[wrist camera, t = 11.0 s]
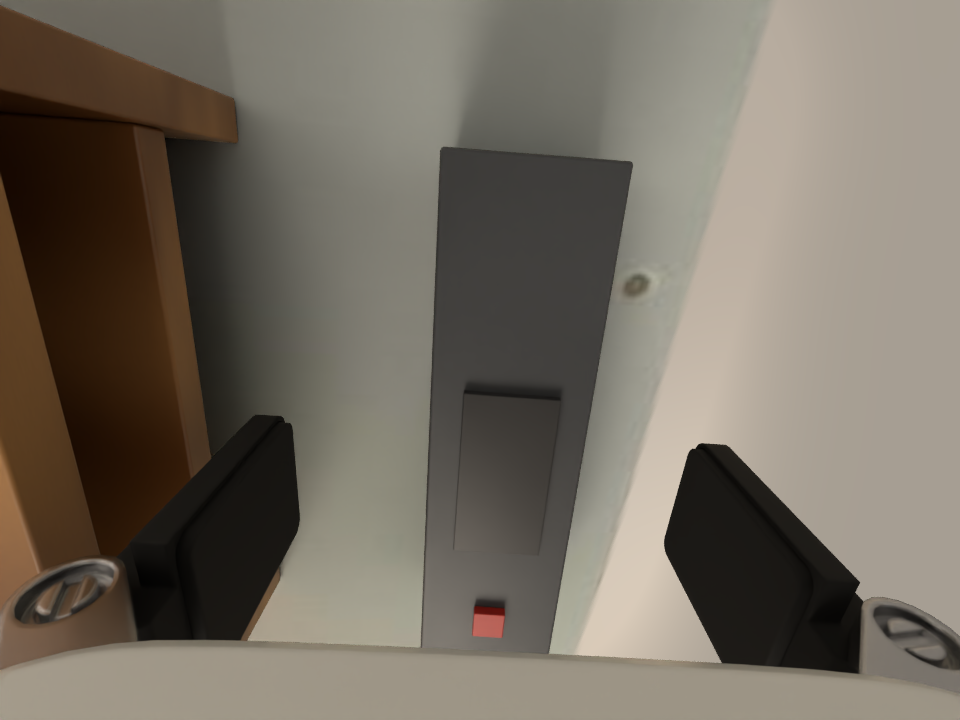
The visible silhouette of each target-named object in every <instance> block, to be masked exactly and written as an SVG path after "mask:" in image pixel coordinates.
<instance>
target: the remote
mask: <svg viewBox="0 0 960 720" xmlns="http://www.w3.org/2000/svg"><path fill="white" fill-rule="evenodd" d="M632 168H633V164H632V162H630V161H618V160H605V159H593V158H580V157H567V156H554V155H542V154H529V153H516V152H504V151H491V150H478V149H466V148H453V147H442V148H441V150H440V172H439V197H438V222H437V248H436V273H435V298H434V323H433V349H432V374H431V399H430V424H429V450H428V475H427V500H426V526H425V551H424V576H423V601H422V627H421V648H438V649H459V650H480V651H500V652H521V653H541V654H549V650H550V644H551V638H552V632H553V626H554V621H555V615H556V609H557V603H558V597H559V592H560V586H561V580H562V574H563V568H564V562H565V557H566V551H567V545H568V539H569V533H570V528H571V522H572V516H573V510H574V504H575V499H576V493H577V487H578V481H579V475H580V470H581V464H582V458H583V452H584V446H585V441H586V435H587V429H588V423H589V417H590V412H591V406H592V400H593V394H594V388H595V382H596V377H597V371H598V365H599V359H600V353H601V348H602V342H603V336H604V330H605V324H606V319H607V313H608V307H609V301H610V295H611V290H612V284H613V278H614V272H615V266H616V261H617V255H618V249H619V243H620V237H621V232H622V226H623V220H624V214H625V208H626V203H627V197H628V191H629V185H630V179H631V173H632Z"/></svg>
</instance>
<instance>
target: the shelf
mask: <svg viewBox="0 0 960 720" xmlns="http://www.w3.org/2000/svg"><path fill="white" fill-rule="evenodd" d="M165 138H178V139H190V140H202V141H214V142H227V143H237V142H238V134H237V124H236V113H235V103H234V99H233V98H231V97H229V96H226V95H224V94H221V93H219V92H216V91H214V90H211V89H209V88H206V87H204V86H201V85H199V84H196V83H194V82H191V81H189V80H186V79H184V78H181V77H179V76H176V75H174V74H171V73H169V72H166V71H164V70H161V69H159V68H156V67H154V66H151V65H149V64H146V63H144V62H141V61H139V60H136V59H134V58H131V57H129V56H126V55H124V54H121V53H119V52H116V51H114V50H111V49H109V48H106V47H104V46H101V45H99V44H96V43H94V42H91V41H89V40H86V39H84V38H81V37H79V36H76V35H74V34H71V33H69V32H66V31H64V30H61V29H59V28H56V27H54V26H51V25H49V24H46V23H44V22H41V21H39V20H36V19H34V18H31V17H29V16H26V15H24V14H21V13H19V12H16V11H14V10H11V9H9V8H6V7H4V6H1V5H0V611H1V609H2V606H3V604H4V603H5V601H6V600H7V599H8V598H9V597H10V595H11V594H12V593H13V592H14V591H15V590H16V589H17V588H19V587H20V586H21V585H22V584H24V583H25V582H26V581H28V580H29V579H30V578H32V577H34V576H35V575H37V574H39V573H41V572H42V571H44V570H46V569H48V568H50V567H52V566H55V565H57V564H60V563H62V562H64V561H67V560H71V559H75V558H78V557H82V556H88V555H98V554H102V555H110V556H114V557H117V556H118V555H119V554H120V553H121V552H122V551H123V550H124V549H125V548H126V547H127V546H128V545H129V544H130V541H131V540H132V539H133V538H134V537H135V536H136V535H137V534H138V533H139V532H140V531H141V530H142V528H143V527H144V526H145V525H146V524H147V523H148V522H149V521H150V520H151V519H152V518H153V517H154V516H155V515H156V514H157V513H158V512H159V511H160V510H161V509H162V508H163V507H164V506H165V505H166V504H167V503H168V502H169V501H170V500H171V499H172V498H173V497H174V496H175V495H176V494H177V493H178V492H179V491H180V490H181V489H182V488H183V487H184V486H185V485H186V484H187V483H188V482H189V481H190V480H191V479H192V478H193V477H194V476H195V475H196V474H197V473H198V472H199V471H200V470H201V469H202V468H203V467H204V466H205V465H206V464H207V463H208V462H209V461H210V459H211V454H210V447H209V440H208V433H207V426H206V419H205V413H204V406H203V399H202V392H201V385H200V378H199V371H198V364H197V357H196V351H195V344H194V337H193V330H192V323H191V316H190V309H189V302H188V295H187V289H186V282H185V275H184V268H183V261H182V254H181V247H180V240H179V233H178V227H177V220H176V213H175V206H174V199H173V192H172V185H171V178H170V171H169V165H168V158H167V151H166V144H165ZM279 581H280V572H279V568H278V570H277V572H276V573H275V575H274V577H273V579H272V581H271V583H270V585H269V587H268V589H267V591H266V592H265V594H264V596H263V598H262V600H261V602H260V604H259V606H258V608H257V610H256V611H255V613H254V615H253V617H252V619H251V621H250V623H249V625H248V627H247V629H246V630H245V632H244V634H243V636H242V638H241V640H240V641H247V640H248V638H249V636H250V634H251V632H252V630H253V629H254V627H255V625H256V623H257V621H258V619H259V618H260V616H261V614H262V612H263V610H264V608H265V606H266V605H267V603H268V601H269V599H270V597H271V595H272V594H273V592H274V590H275V588H276V586H277V584H278V583H279Z"/></svg>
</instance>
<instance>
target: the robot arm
mask: <svg viewBox="0 0 960 720" xmlns="http://www.w3.org/2000/svg"><path fill="white" fill-rule="evenodd" d="M299 522H300V513H299V501H298V489H297V477H296V465H295V453H294V441H293V430H292V425H291V424H290V423H285V420H284V418H283V417H282V416H270V415H254V416H253V417H252V418H251V419H250V420H249V421H248V422H247V423H246V424H245V425H244V426H243V427H242V428H241V429H240V430H239V431H238V432H237V433H236V434H235V435H234V436H233V437H232V438H231V439H230V440H229V441H228V442H227V443H226V444H225V445H224V446H223V447H222V448H221V449H220V450H219V451H218V452H217V453H216V454H215V455H214V456H213V457H212V458H211V459H210V461H209V462H208V463H207V464H206V465H205V466H204V467H203V468H202V469H201V470H200V471H199V472H198V473H197V474H196V475H195V476H194V477H193V478H192V479H191V480H190V481H189V482H188V483H187V484H186V485H185V486H184V487H183V488H182V489H181V490H180V491H179V492H178V493H177V494H176V495H175V496H174V497H173V498H172V499H171V500H170V501H169V502H168V503H167V504H166V505H165V506H164V507H163V508H162V509H161V510H160V511H159V512H158V513H157V514H156V515H155V516H154V517H153V518H152V519H151V520H150V521H149V522H148V523H147V524H146V525H145V526H144V527H143V528H142V530H141V531H140V532H139V533H138V534H137V535H136V536H135V537H134V538H133V539H132V540H131V541H130V544H129V545H128V546H127V547H126V548H125V549H124V550H123V551H122V552H121V553H120V554H119V555H118V556H117V557H114V556H110V555H102V554H98V555H88V556H82V557H78V558H75V559H71V560H67V561H64V562H62V563H60V564H57V565H55V566H52V567H50V568H48V569H46V570H44V571H42V572H41V573H39V574H37V575H35V576H34V577H32V578H30V579H29V580H28V581H26V582H25V583H24V584H22V585H21V586H20V587H19V588H17V589H16V590H15V591H14V592H13V593H12V594H11V595H10V597H9V598H8V599H7V600H6V601H5V603H4V604H3V606H2V609H1V611H0V720H960V636H959V635H958V634H956V633H955V632H954V631H953V630H952V629H951V628H950V627H948V626H947V625H945V624H943V623H942V622H941V621H939V620H938V619H936V618H935V617H933V616H932V615H930V614H928V613H926V612H924V611H922V610H920V609H918V608H916V607H914V606H912V605H909V604H906V603H904V602H901V601H899V600H894V599H890V598H885V597H871V598H870V599H867V600H866V601H864V602H863V601H862V599H860V597H859V596H858V595H857V594H856V593H855V592H856V589H857V588H858V586H859V584H860V582H859V581H858V580H857V579H856V578H855V577H854V576H853V575H852V573H851V572H850V571H849V570H848V569H846V567H845V566H844V565H843V564H842V563H841V562H840V561H839V560H838V559H837V558H836V557H835V556H834V555H833V554H832V553H831V552H830V551H829V550H828V549H827V548H826V547H825V546H824V545H823V544H822V543H821V542H820V541H819V540H818V539H817V537H816V536H815V535H814V534H813V533H812V532H811V531H810V530H809V529H808V528H807V527H806V526H805V525H804V524H803V523H802V522H801V521H800V520H799V519H798V518H797V517H796V516H795V515H794V514H793V513H792V512H791V510H790V509H789V508H788V507H787V506H786V505H785V504H784V503H783V502H782V501H781V500H780V499H779V498H778V497H777V496H776V495H775V494H774V493H773V492H772V491H771V490H770V489H769V488H768V487H767V486H766V485H765V484H764V483H763V482H762V481H761V480H760V478H759V477H758V476H757V475H755V473H754V472H753V471H752V470H751V469H750V468H749V467H748V466H747V465H746V464H745V463H744V462H743V461H742V460H741V459H740V458H739V457H738V456H737V455H736V454H735V453H734V452H733V451H732V450H731V449H730V447H728V446H727V445H720V444H719V445H718V444H704V443H701V444H699V445H698V446H697V447H696V449H692V450H690V452H689V454H688V456H687V460H686V463H685V467H684V471H683V474H682V478H681V482H680V485H679V488H678V492H677V496H676V499H675V503H674V506H673V510H672V513H671V517H670V521H669V524H668V528H667V531H666V535H665V539H664V547H665V552H666V555H667V556H668V559H669V560H670V562H671V565H672V566H673V568H674V570H675V572H676V574H677V576H678V578H679V580H680V582H681V584H682V586H683V588H684V590H685V592H686V594H687V596H688V598H689V600H690V602H691V604H692V605H693V607H694V609H695V611H696V613H697V615H698V617H699V619H700V621H701V623H702V625H703V627H704V629H705V631H706V633H707V635H708V637H709V638H710V641H711V642H712V644H713V646H714V648H715V650H716V652H717V654H718V656H719V658H720V660H721V662H722V663H707V662H690V661H672V660H653V659H635V658H618V657H599V656H580V655H560V654H541V653H521V652H500V651H480V650H459V649H438V648H415V647H392V646H369V645H346V644H323V643H300V642H268V641H240V640H241V638H242V636H243V634H244V632H245V630H246V629H247V627H248V625H249V623H250V621H251V619H252V617H253V615H254V613H255V611H256V610H257V608H258V606H259V604H260V602H261V600H262V598H263V596H264V594H265V592H266V591H267V589H268V587H269V585H270V583H271V581H272V579H273V577H274V575H275V573H276V572H277V570H278V568H279V566H280V564H281V562H282V560H283V558H284V556H285V554H286V553H287V551H288V549H289V547H290V545H291V543H292V541H293V539H294V537H295V535H296V533H297V531H298V527H299Z"/></svg>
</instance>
